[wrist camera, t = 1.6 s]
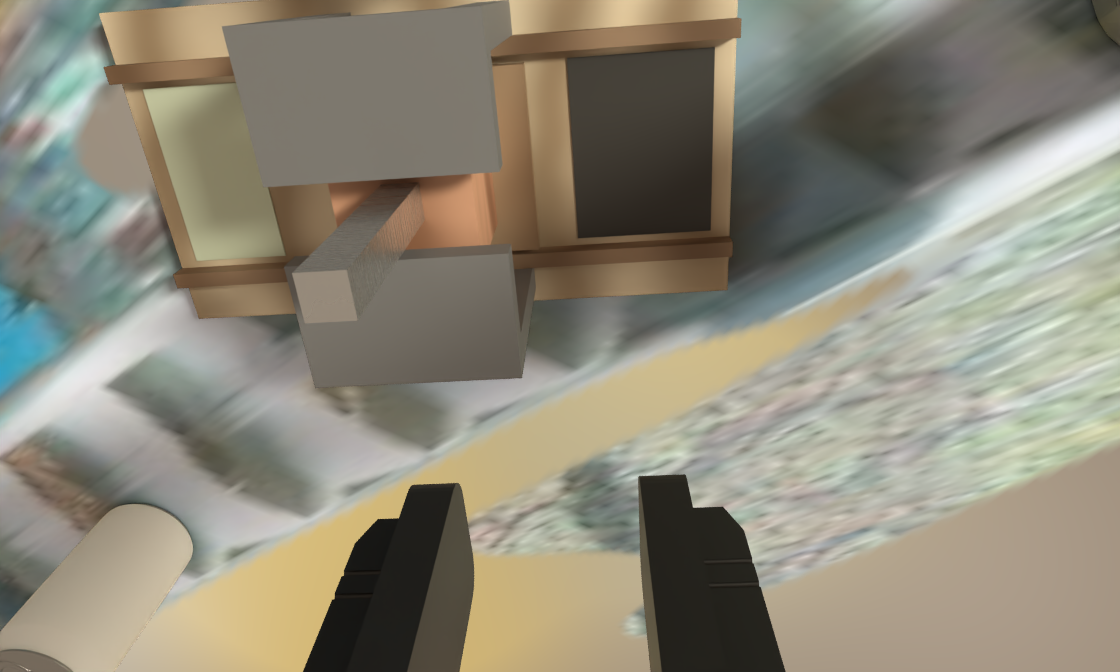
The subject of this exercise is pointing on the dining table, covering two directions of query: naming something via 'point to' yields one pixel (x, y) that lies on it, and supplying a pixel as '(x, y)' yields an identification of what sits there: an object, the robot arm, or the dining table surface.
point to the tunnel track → (434, 158)
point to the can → (99, 595)
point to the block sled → (424, 215)
